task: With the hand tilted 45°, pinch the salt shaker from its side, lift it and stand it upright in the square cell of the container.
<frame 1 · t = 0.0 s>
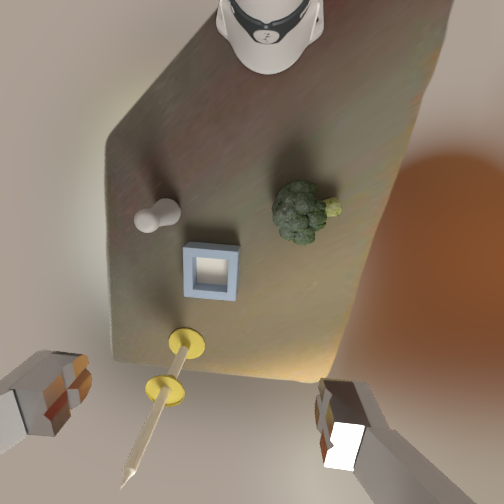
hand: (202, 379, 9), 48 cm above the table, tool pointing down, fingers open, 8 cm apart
salt shaker: (171, 210, 56), on the table
container: (214, 267, 60), on the table
vegetable: (302, 206, 54), on the table
candle: (187, 343, 67), on the table
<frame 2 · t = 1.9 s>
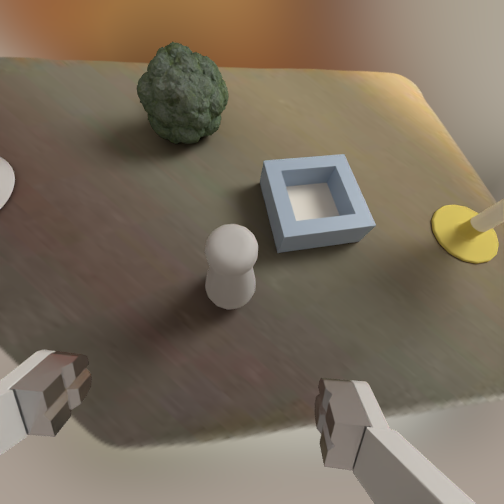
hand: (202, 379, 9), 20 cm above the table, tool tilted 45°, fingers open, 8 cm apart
salt shaker: (230, 290, 31), on the table
container: (307, 210, 37), on the table
vegetable: (186, 126, 42), on the table
candle: (462, 233, 38), on the table
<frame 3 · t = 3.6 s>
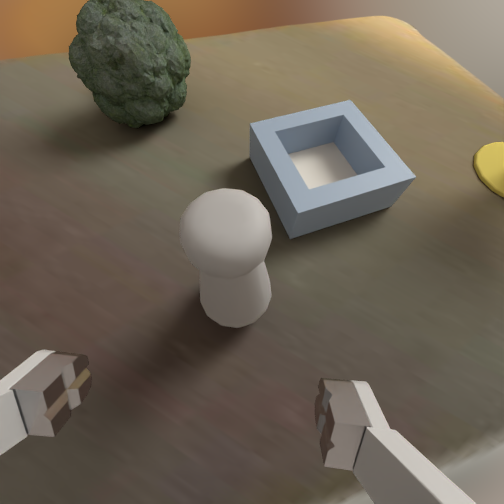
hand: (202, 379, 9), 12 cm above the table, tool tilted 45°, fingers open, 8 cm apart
salt shaker: (237, 299, 22), on the table
container: (316, 180, 28), on the table
vegetable: (147, 108, 34), on the table
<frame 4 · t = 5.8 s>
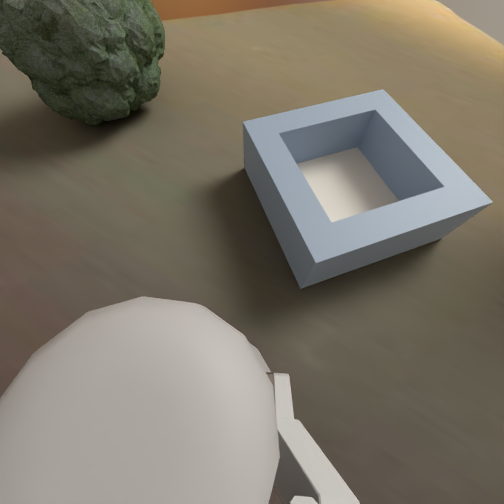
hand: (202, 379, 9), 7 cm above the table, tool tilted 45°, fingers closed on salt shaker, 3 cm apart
salt shaker: (221, 389, 15), on the table, touching gripper
container: (335, 200, 21), on the table
vegetable: (113, 100, 27), on the table
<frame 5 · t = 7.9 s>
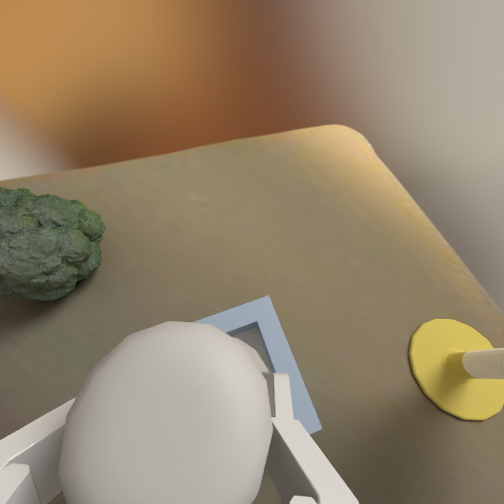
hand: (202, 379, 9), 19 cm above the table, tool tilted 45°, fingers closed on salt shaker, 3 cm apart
salt shaker: (224, 387, 16), point 11 cm above the table, touching gripper
container: (233, 378, 26), on the table
vegetable: (66, 259, 32), on the table
candle: (454, 365, 27), on the table
when the fingers open (10 cm above the table, at t = 10.1 s): salt shaker stays where it is, resting on container.
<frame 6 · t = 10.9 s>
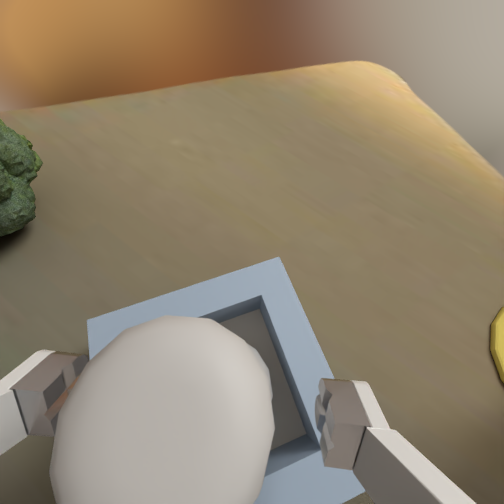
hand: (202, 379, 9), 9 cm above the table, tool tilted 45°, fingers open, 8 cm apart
salt shaker: (224, 388, 16), point 1 cm above the table, touching container
container: (224, 387, 17), on the table
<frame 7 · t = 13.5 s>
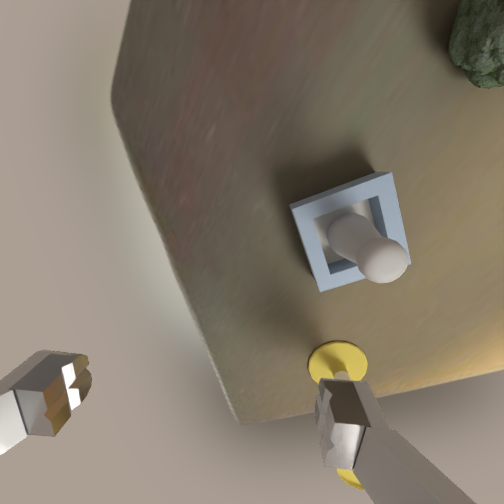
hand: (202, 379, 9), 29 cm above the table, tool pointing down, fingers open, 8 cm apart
salt shaker: (344, 230, 35), point 1 cm above the table, touching container
container: (342, 229, 35), on the table
vegetable: (493, 32, 28), on the table
candle: (336, 364, 43), on the table
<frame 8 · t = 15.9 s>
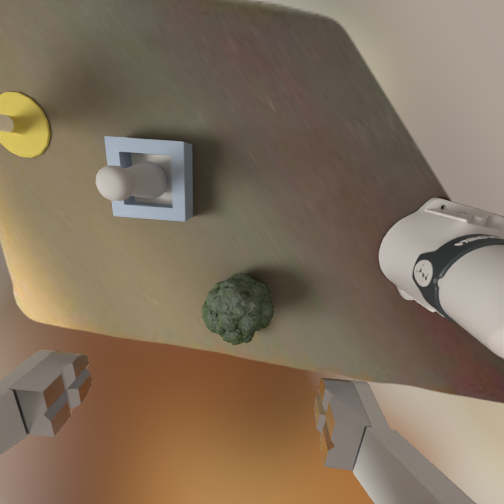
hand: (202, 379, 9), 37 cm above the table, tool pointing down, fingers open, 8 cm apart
salt shaker: (156, 179, 42), point 1 cm above the table, touching container
container: (158, 179, 43), on the table
vegetable: (243, 298, 50), on the table
candle: (22, 126, 42), on the table
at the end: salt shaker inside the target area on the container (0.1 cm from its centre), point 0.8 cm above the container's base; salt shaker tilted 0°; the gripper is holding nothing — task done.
